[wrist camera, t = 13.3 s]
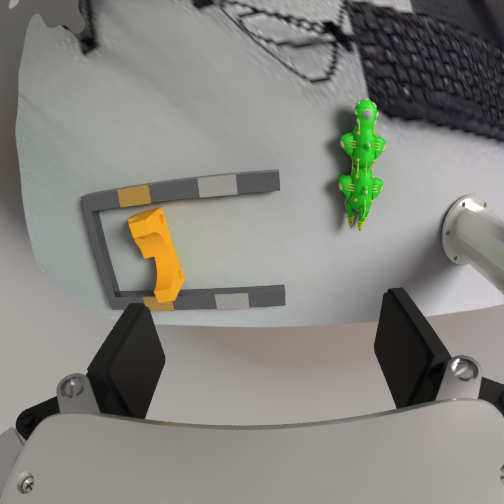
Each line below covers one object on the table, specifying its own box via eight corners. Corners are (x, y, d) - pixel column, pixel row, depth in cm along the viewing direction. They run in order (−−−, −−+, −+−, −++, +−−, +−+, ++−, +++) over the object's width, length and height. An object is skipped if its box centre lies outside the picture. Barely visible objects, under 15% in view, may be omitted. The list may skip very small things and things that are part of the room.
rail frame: (278, 169, 38) (278, 171, 36) (284, 298, 46) (285, 306, 44) (87, 193, 40) (80, 197, 38) (116, 303, 48) (112, 310, 46)
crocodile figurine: (380, 103, 33) (393, 101, 29) (373, 224, 40) (384, 234, 36) (336, 97, 34) (344, 94, 30) (331, 223, 41) (339, 233, 37)
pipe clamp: (136, 213, 41) (117, 227, 35) (161, 206, 40) (145, 219, 35) (161, 282, 46) (148, 304, 40) (185, 278, 45) (174, 300, 39)
